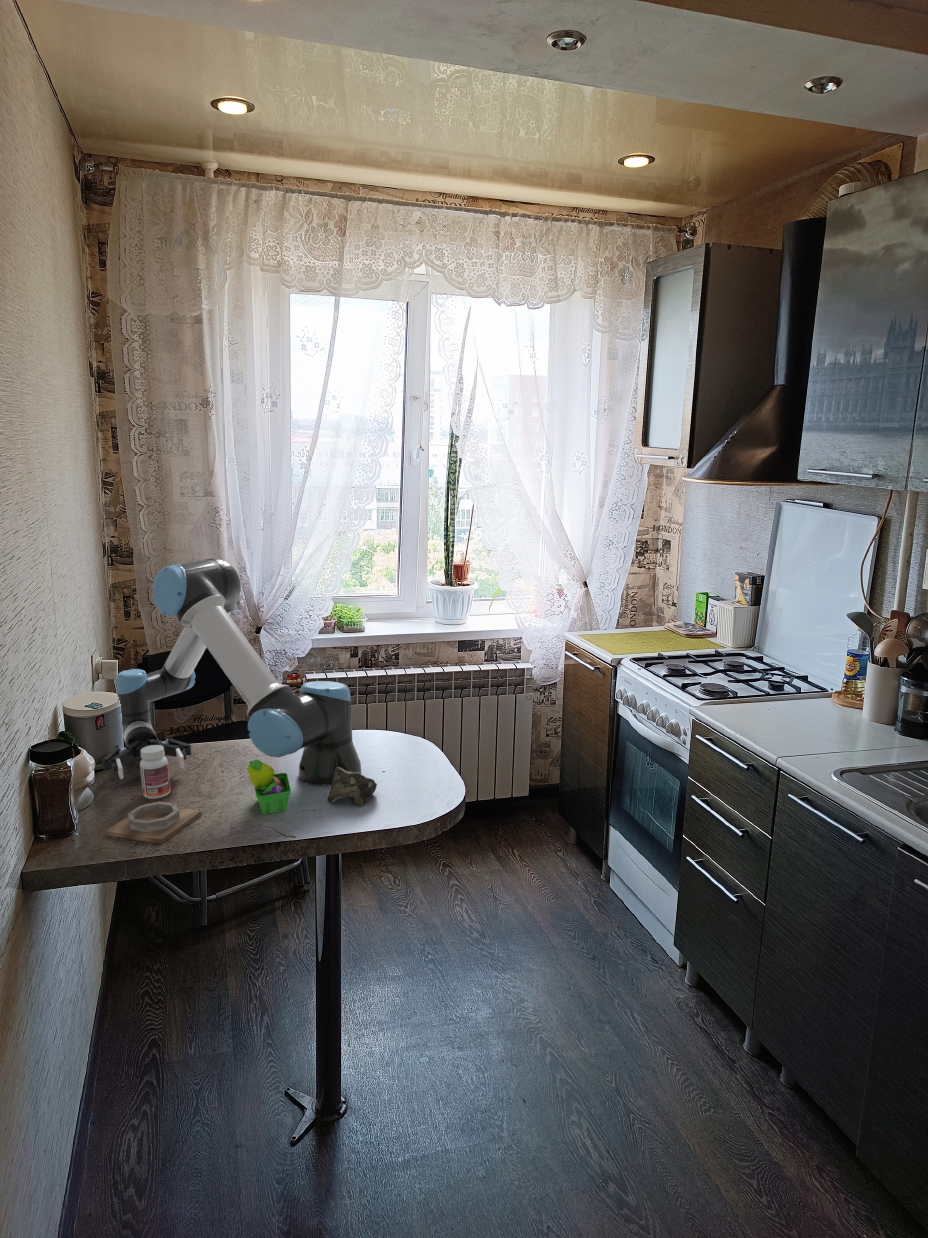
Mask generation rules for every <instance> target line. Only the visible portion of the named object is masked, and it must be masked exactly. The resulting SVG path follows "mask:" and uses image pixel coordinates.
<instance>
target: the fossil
mask: <svg viewBox="0 0 928 1238" xmlns="http://www.w3.org/2000/svg"><path fill="white" fill-rule="evenodd" d="M377 786H378V783H376V782H375V779H373V778H369V777H367V776H365V775H364V774H361V773H357V772H355V773H354V772H351V771H346V770H344V769H343V768H340V767H336V768H335V771H334V775H333V780H332V784H331V785H330V788H329V791H328V794H327V797H326V800H327V803H328V804H332V803H334V802H335V801H336V800H338V799H340V798H341V799H343V798H346V797H351V798H353V802H354V803H355V804H356V805H357V806H358V807H359V808H360V807H363V806H364V805H365V804H366V803H367V802H368V799H370V798H371V797H372V796H373V795H374V793H375V792H376V789H377Z"/></svg>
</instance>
